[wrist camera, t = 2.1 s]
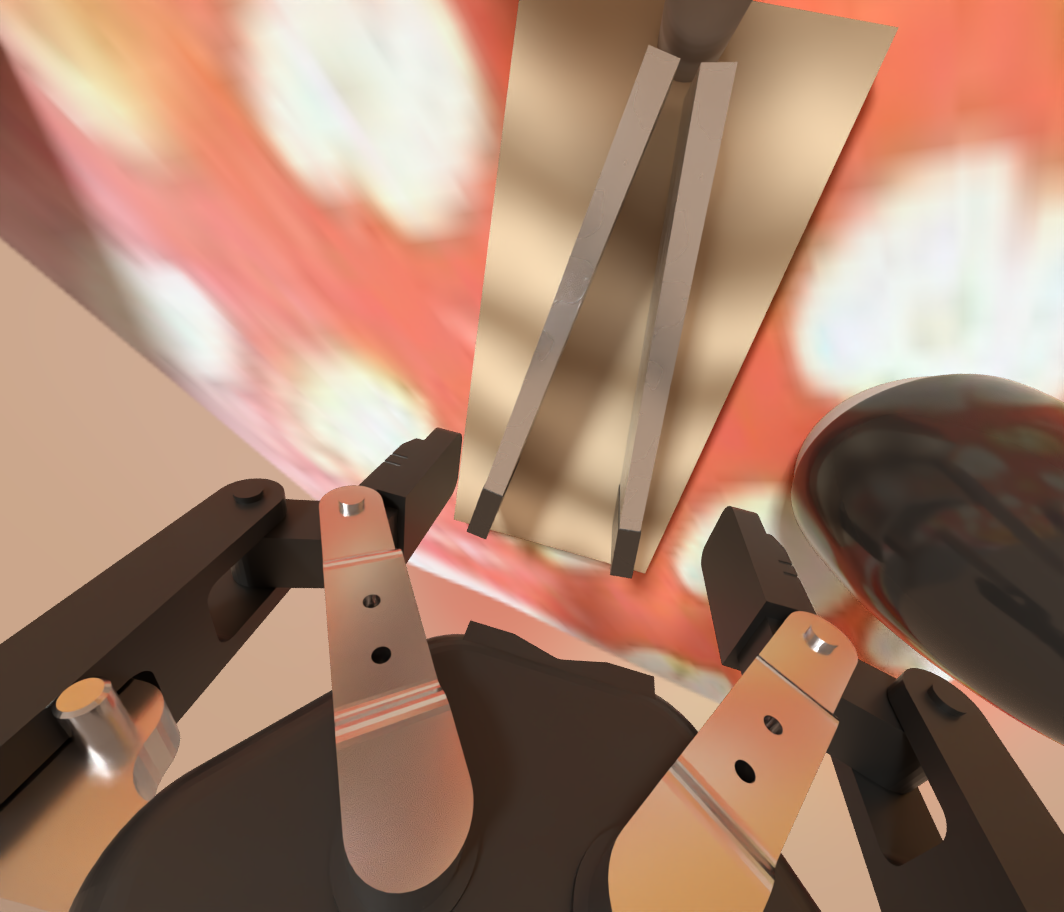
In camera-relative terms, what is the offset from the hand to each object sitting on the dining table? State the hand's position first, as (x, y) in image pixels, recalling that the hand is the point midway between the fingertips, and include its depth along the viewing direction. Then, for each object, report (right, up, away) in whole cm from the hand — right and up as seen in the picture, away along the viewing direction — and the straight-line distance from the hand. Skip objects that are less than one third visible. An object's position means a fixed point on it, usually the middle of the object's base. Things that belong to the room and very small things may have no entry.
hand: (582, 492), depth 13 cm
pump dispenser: (+17, +2, +10) cm, 19 cm away
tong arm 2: (+4, +6, +8) cm, 10 cm away
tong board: (+2, +7, +10) cm, 12 cm away
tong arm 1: (0, +7, +8) cm, 10 cm away
